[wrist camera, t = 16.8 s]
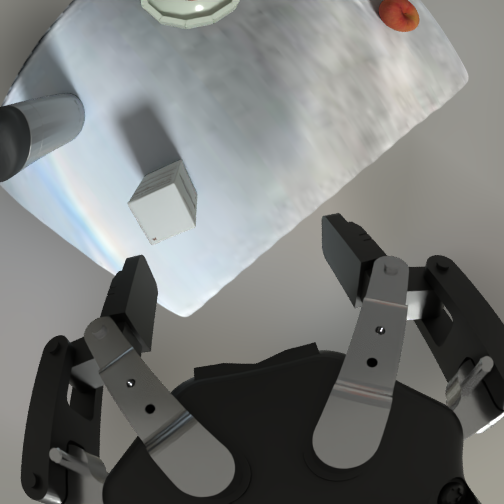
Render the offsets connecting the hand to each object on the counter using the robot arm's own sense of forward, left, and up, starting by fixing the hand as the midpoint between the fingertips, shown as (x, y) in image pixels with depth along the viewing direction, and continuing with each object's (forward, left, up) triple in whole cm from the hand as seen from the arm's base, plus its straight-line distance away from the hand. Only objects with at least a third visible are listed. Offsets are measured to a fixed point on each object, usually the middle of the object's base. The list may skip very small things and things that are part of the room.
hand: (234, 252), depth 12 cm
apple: (+35, +20, -36) cm, 54 cm away
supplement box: (-9, -8, -36) cm, 38 cm away
